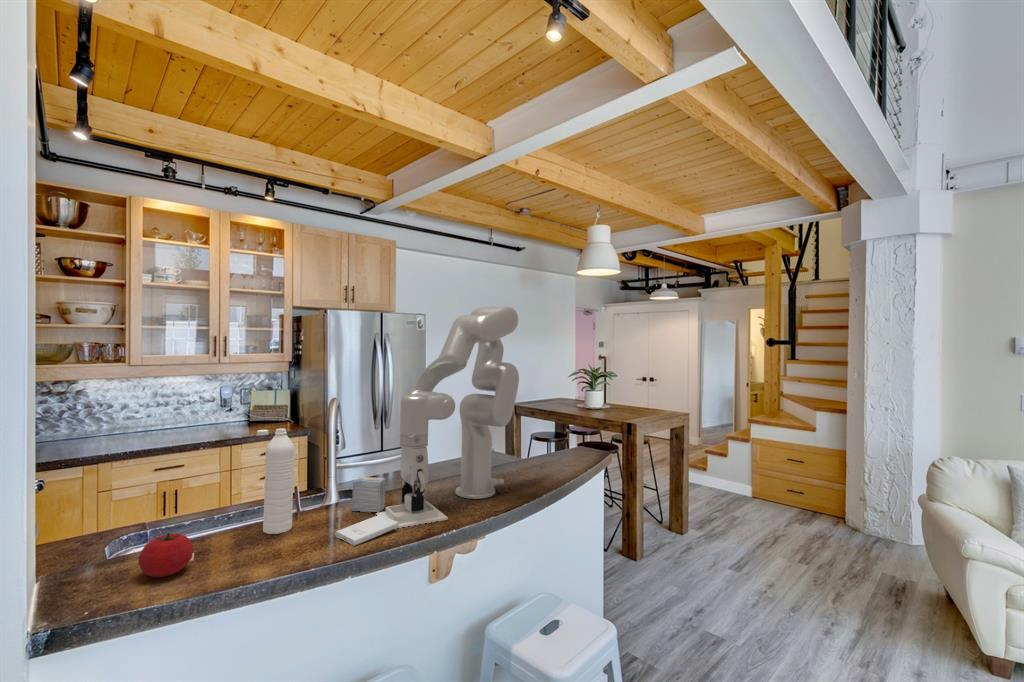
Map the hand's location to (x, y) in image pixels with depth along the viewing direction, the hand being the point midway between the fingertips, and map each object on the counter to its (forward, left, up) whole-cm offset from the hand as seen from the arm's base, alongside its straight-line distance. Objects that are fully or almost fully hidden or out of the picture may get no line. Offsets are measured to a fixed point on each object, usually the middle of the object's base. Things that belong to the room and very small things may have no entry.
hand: (412, 505), depth 126 cm
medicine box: (+9, -11, -3) cm, 14 cm away
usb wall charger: (0, 0, -1) cm, 1 cm away
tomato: (+53, +7, -3) cm, 54 cm away
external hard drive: (+13, +6, -3) cm, 15 cm away
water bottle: (+33, -7, -3) cm, 34 cm away
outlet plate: (0, 0, -3) cm, 3 cm away
